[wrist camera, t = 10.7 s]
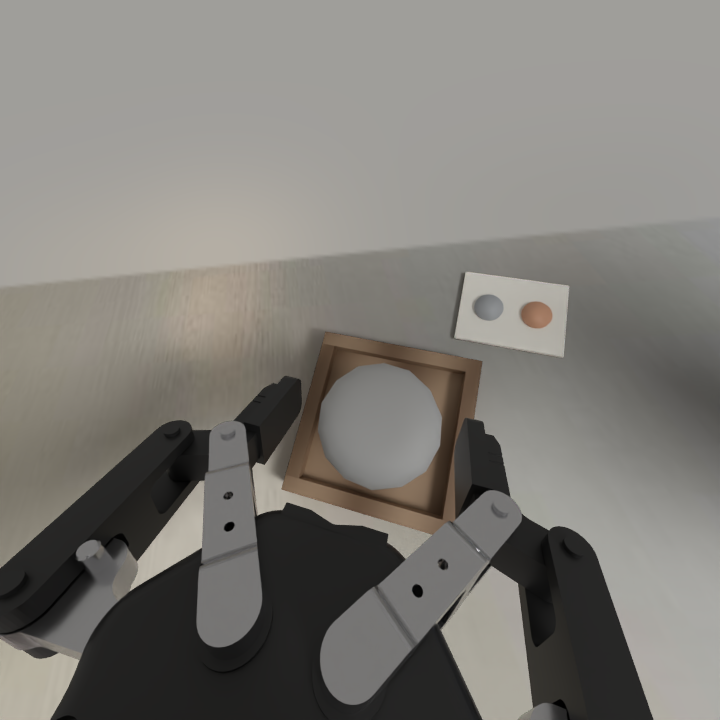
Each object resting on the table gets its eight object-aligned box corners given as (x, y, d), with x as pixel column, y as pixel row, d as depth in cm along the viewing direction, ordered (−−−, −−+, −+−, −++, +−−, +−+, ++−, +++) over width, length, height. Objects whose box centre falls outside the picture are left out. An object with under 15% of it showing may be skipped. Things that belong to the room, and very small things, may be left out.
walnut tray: (475, 367, 23) (482, 361, 21) (450, 532, 20) (455, 541, 18) (330, 339, 25) (325, 331, 23) (290, 485, 22) (281, 489, 21)
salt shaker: (356, 388, 23) (304, 327, 10) (431, 396, 22) (474, 339, 9) (346, 467, 21) (273, 507, 9) (426, 478, 20) (469, 540, 8)
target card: (567, 287, 24) (570, 284, 23) (561, 357, 22) (564, 355, 22) (465, 273, 25) (466, 270, 24) (454, 338, 24) (455, 336, 23)
